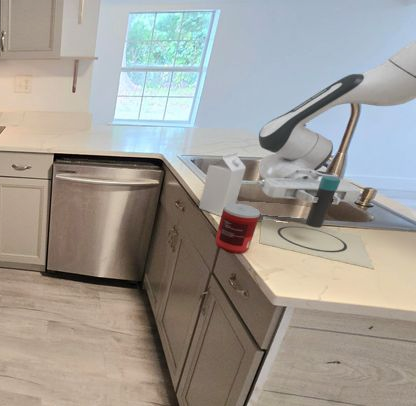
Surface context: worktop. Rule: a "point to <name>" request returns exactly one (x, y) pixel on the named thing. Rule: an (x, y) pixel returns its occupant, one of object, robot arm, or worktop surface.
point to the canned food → (236, 227)
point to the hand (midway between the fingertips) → (325, 201)
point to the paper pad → (316, 242)
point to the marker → (322, 201)
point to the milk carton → (222, 183)
